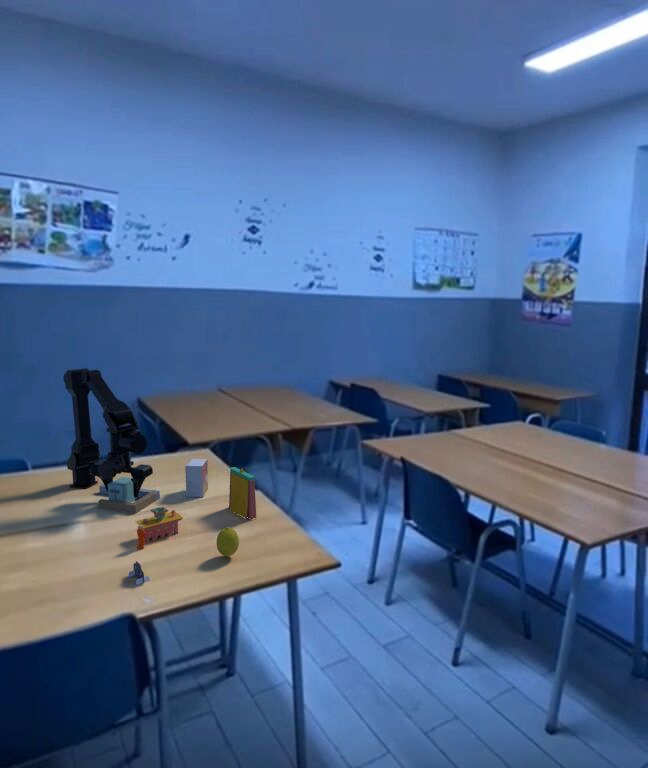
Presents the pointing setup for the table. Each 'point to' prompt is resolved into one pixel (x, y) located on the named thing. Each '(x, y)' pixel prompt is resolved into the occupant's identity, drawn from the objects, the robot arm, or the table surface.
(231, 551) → the lemon
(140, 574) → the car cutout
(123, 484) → the blue block with grip
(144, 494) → the u-shaped bar frame
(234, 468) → the toy shop counter set
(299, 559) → the table surface
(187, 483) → the small box
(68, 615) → the table surface
